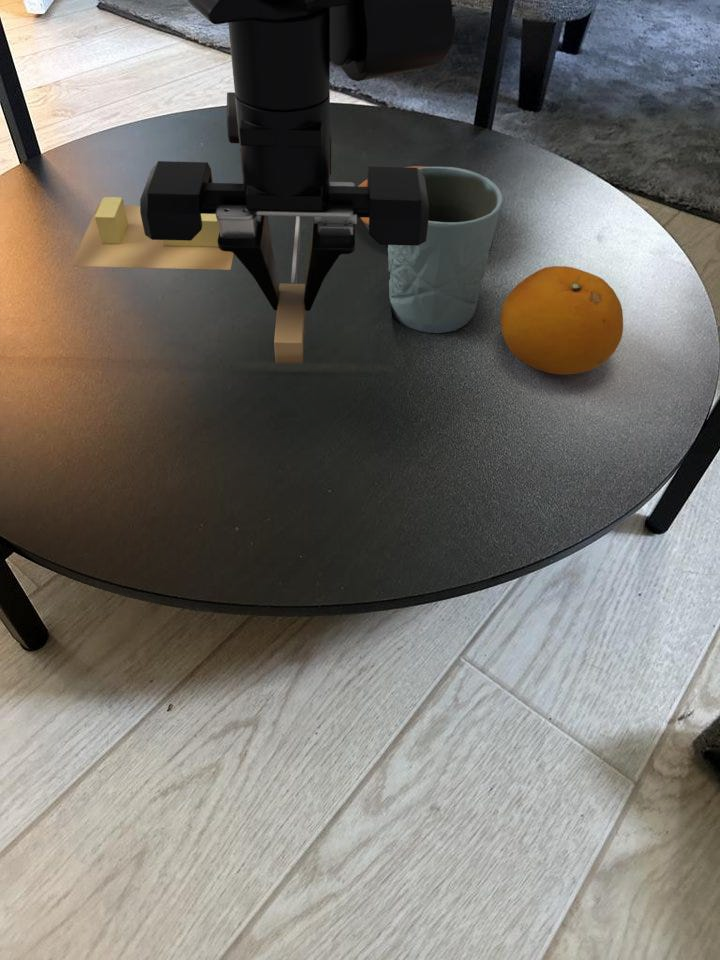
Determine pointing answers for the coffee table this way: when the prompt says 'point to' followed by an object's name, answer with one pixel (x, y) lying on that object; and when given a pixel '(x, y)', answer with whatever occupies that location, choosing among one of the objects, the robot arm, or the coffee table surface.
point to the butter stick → (201, 234)
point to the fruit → (562, 320)
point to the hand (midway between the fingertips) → (292, 307)
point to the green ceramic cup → (446, 252)
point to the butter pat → (111, 220)
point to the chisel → (291, 313)
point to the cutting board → (145, 250)
